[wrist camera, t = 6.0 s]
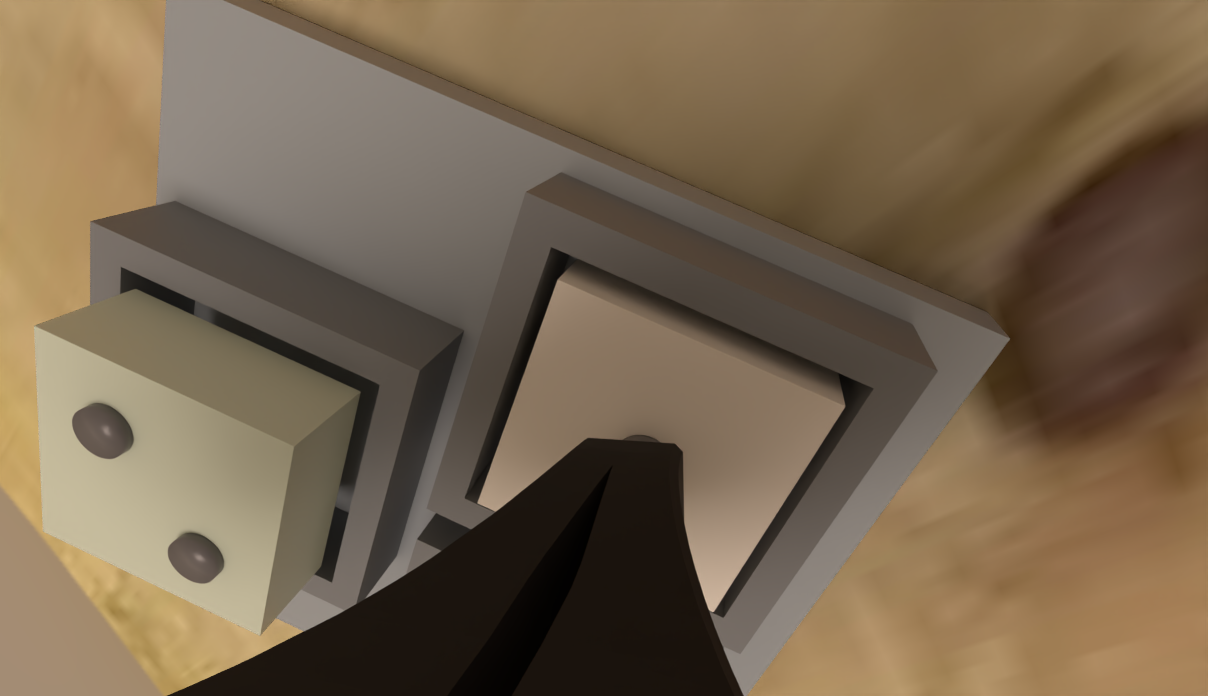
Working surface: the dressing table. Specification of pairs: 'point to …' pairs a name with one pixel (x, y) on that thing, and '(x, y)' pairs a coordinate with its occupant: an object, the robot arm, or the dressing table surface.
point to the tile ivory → (669, 409)
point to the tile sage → (188, 454)
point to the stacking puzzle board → (496, 293)
